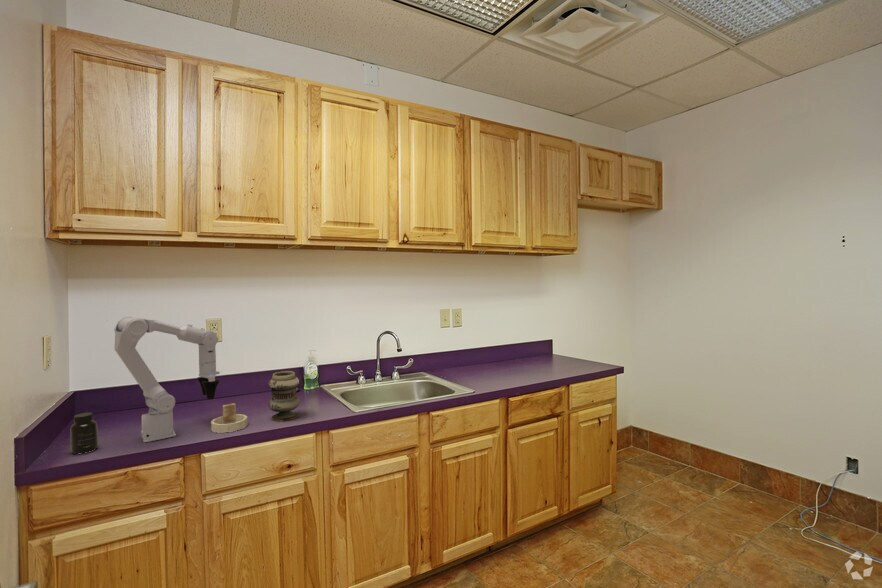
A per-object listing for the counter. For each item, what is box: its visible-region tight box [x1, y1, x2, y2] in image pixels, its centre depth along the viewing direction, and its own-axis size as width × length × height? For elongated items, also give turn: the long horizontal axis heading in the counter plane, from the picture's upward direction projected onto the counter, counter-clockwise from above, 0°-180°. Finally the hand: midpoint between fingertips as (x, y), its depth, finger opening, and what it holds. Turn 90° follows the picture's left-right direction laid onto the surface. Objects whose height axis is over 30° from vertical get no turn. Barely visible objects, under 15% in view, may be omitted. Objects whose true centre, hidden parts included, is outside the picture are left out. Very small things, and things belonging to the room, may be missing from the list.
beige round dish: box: [210, 413, 249, 434], centre depth 161 cm, size 12×12×3 cm
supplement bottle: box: [69, 412, 99, 455], centre depth 139 cm, size 7×7×12 cm
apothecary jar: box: [267, 370, 301, 422], centre depth 171 cm, size 12×12×18 cm
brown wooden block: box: [222, 403, 237, 424], centre depth 160 cm, size 4×2×8 cm, turn 130°
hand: (208, 396), depth 165 cm, fingers open, 7 cm apart
